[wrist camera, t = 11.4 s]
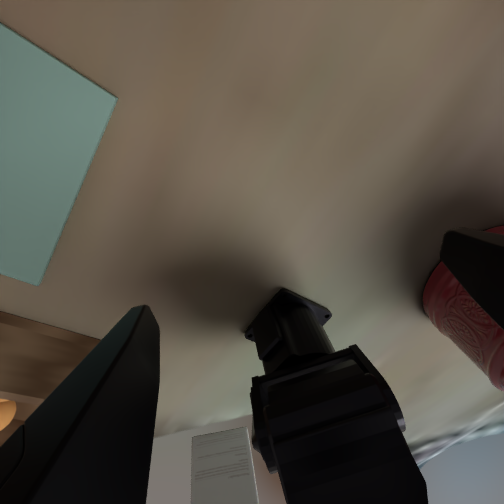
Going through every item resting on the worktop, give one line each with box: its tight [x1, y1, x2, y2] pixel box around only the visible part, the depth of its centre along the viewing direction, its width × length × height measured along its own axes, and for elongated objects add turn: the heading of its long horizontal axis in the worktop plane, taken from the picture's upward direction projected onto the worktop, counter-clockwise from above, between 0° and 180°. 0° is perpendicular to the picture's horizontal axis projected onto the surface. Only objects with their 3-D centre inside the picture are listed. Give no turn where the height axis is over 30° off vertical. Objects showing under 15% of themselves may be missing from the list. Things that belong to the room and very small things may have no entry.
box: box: [0, 311, 101, 446], centre depth 23 cm, size 13×13×6 cm
